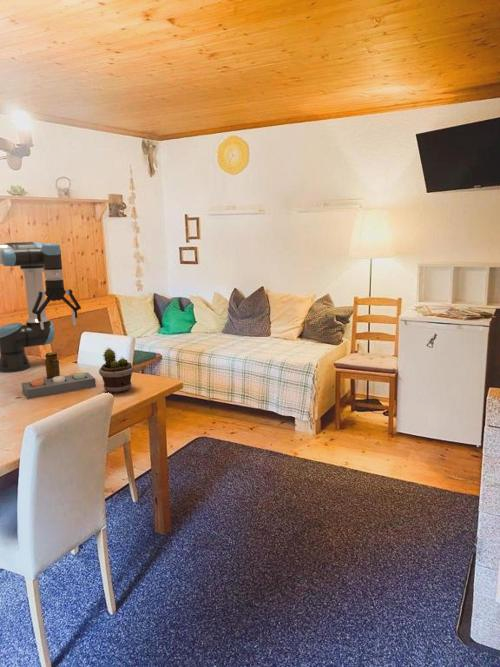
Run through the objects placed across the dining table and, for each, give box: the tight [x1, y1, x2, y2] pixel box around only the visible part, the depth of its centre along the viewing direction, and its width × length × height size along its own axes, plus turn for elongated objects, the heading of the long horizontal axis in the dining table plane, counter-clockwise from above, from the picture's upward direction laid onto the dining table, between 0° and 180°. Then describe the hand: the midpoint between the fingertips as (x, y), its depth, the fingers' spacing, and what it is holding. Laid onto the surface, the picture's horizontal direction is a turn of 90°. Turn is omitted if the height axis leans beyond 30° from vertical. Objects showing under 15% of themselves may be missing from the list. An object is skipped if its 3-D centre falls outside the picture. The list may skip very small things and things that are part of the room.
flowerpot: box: [98, 347, 135, 394], centre depth 218 cm, size 14×15×20 cm
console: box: [21, 372, 97, 400], centre depth 222 cm, size 12×29×4 cm, turn 124°
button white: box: [53, 375, 65, 383], centre depth 221 cm, size 5×5×4 cm
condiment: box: [43, 352, 61, 379], centre depth 239 cm, size 7×8×12 cm
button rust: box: [30, 379, 44, 387], centre depth 216 cm, size 5×5×4 cm
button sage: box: [72, 372, 86, 380], centre depth 226 cm, size 5×5×4 cm
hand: (58, 327), depth 219 cm, fingers open, 13 cm apart
